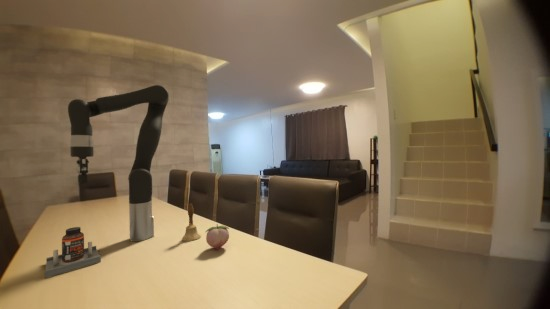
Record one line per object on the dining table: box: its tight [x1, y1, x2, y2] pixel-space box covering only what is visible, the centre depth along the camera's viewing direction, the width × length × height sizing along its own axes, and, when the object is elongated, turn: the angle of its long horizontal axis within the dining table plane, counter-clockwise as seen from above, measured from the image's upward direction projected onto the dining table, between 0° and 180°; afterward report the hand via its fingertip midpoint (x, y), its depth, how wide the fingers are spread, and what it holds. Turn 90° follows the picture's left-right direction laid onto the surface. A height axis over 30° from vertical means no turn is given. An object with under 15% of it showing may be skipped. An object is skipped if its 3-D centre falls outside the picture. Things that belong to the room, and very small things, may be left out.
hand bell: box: [181, 203, 202, 242], centre depth 100 cm, size 8×8×16 cm
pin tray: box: [44, 241, 102, 279], centre depth 78 cm, size 14×14×6 cm
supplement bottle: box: [61, 226, 85, 262], centre depth 78 cm, size 6×6×11 cm
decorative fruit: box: [205, 223, 230, 249], centre depth 88 cm, size 9×8×10 cm
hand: (82, 182), depth 93 cm, fingers open, 8 cm apart
